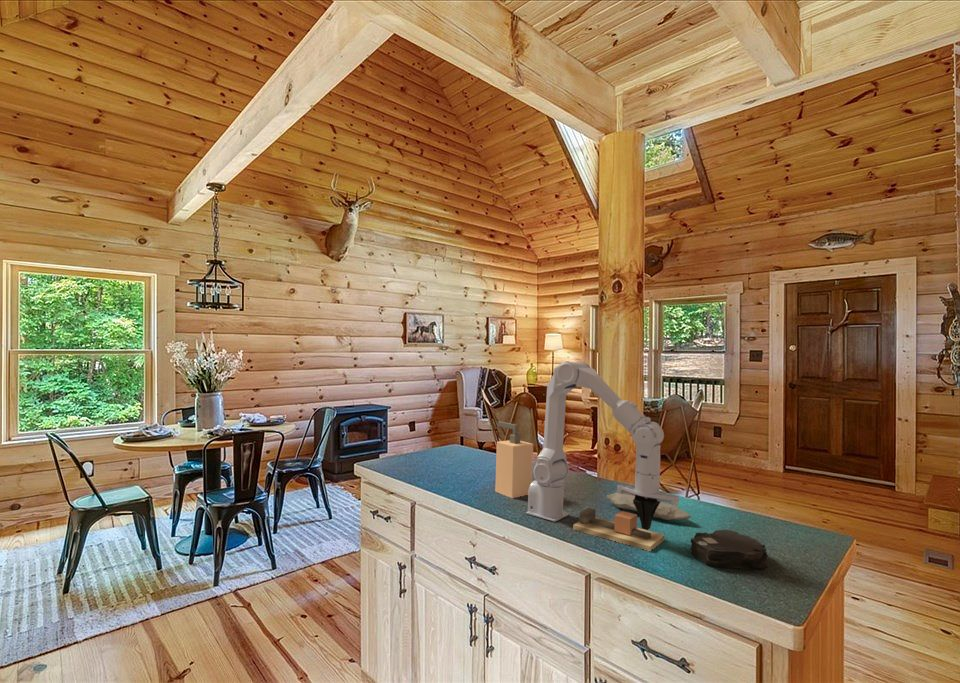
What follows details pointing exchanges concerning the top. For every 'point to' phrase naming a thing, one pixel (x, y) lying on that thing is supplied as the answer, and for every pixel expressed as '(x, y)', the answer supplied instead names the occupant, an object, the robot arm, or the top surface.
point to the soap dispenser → (513, 464)
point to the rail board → (606, 530)
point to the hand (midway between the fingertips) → (646, 528)
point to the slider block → (625, 522)
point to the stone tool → (661, 512)
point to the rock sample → (729, 550)
